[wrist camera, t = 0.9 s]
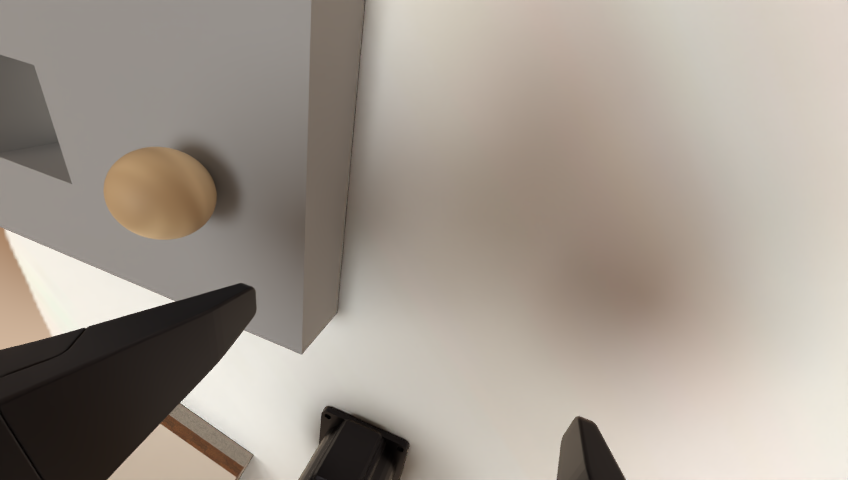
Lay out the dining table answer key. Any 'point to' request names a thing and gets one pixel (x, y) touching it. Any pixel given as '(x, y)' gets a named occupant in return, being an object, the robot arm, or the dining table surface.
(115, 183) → the ball
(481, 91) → the dining table surface
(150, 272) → the grey flat block
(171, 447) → the grey striped pillar
